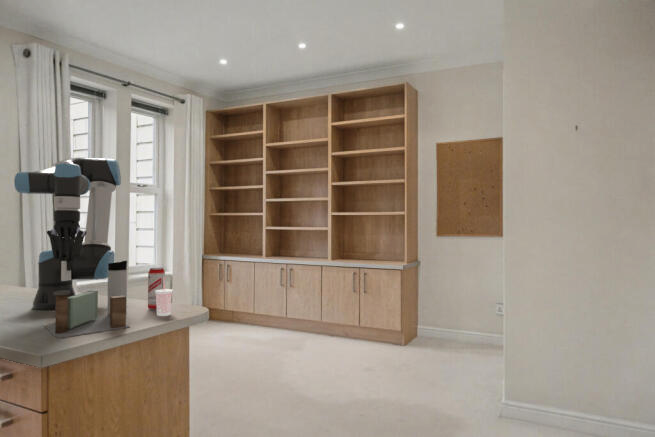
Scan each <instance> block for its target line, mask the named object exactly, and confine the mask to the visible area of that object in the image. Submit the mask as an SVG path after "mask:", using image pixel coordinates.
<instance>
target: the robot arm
mask: <svg viewBox="0 0 655 437" xmlns="http://www.w3.org/2000/svg"><path fill="white" fill-rule="evenodd" d="M121 177H122V175H121V169H120V165H119V163H118V161H117V160H116V159H114V158H107V157H105V158H100V157H99V158H97V157H72V158H67V159H63V160H60V161H57V162H55V163H54V164H53V165H52V166H49V167H46V168H43V169H40V170H35V171H19V172H17V173H15V175H14V182H13V183H14V185H13V186H14V189H15V190H16V192H17V193H20V194H27V195H30V194H31V195H33V194H35V195H38V194H42V195H43V194H44V195H45V194H46V195H53V208H54V209H55V210H54V211H53V221H54V225H53V228H52V229H50V230H47V231H46V234H47V235H48V237H49V242H50V246H51V249H48V250H42V251H41V252H40V253H39V255H38V262H37V265H38V279H37V280H38V286H37V287H38V288H37V291H36V294H35V295H34V298H33V300H32V301H33V302H32V309H33V310H40V311H41V310H42V311H43V310H45V311H46V310H56V295H53V293H54V292H55V291H64V290H68V291H70V294H68V297H71V296H74V295H76V292H75V290H74V286H73V280H75V281H77V280H103V279H104V280H105V279H108V263H115V261H116V259H115V258H116V254H115V251H114V250H112V247H111V246H110V245H109V244H108V238H109V230H110V228H109V227H110V219H111V217H110V216H111V209H112V208H111V205H112V194H113V192H116V190H117V186H120V185H121V184H122V178H121ZM87 193H89V196H88V205H87V214H86V221H85V222H86V223H85V230H83V229H82V228H81V226H80V224H79V223H80V221H81V212H80V209H81V196H84V195H85V194H87Z"/></svg>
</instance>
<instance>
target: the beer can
mask: <svg viewBox="0 0 655 437" xmlns="http://www.w3.org/2000/svg"><path fill="white" fill-rule="evenodd" d="M163 277H165V278H166V271H165V270H164V267H151V268H150V267H149V271H148V272H147V309H148V310H150V311H157V305H156V293H155V290H160V289H163Z"/></svg>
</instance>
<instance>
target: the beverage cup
mask: <svg viewBox="0 0 655 437" xmlns="http://www.w3.org/2000/svg"><path fill="white" fill-rule="evenodd" d="M173 291H174V290H173V289H172V288H171V289H170V288H166V276H165V277H163V289H160V290H155V293H156V305H157V310H156V316H158V317H167V316H170V315H171V310H172V294H173Z"/></svg>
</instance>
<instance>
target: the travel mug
mask: <svg viewBox="0 0 655 437" xmlns="http://www.w3.org/2000/svg"><path fill="white" fill-rule="evenodd" d="M127 266H128V260H122V261H117V262H115V261H114V263H108V278H107V317H109V316H110V297H114V296H126V314H127V308H128V306H127V304H128V302H127V301H128V300H127V297H128V294H127V292H128V291H127V290H128V268H127Z"/></svg>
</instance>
